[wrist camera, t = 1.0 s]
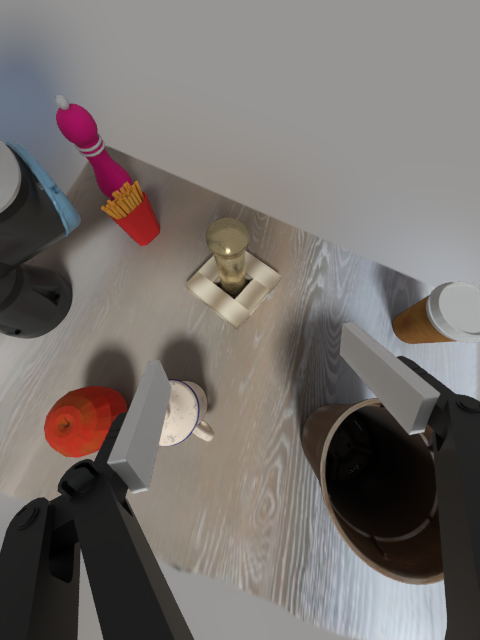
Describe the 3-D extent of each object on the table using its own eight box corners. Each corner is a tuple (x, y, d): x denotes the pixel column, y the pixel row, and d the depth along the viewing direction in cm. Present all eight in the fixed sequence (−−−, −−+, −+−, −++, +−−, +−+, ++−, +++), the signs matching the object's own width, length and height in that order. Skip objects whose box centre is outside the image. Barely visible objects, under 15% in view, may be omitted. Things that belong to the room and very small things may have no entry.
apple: (73, 411, 40) (6, 423, 29) (118, 373, 41) (71, 370, 30) (102, 457, 37) (41, 489, 26) (148, 415, 39) (110, 429, 28)
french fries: (154, 219, 51) (127, 172, 40) (165, 227, 50) (142, 182, 39) (128, 243, 49) (92, 201, 38) (140, 252, 49) (107, 212, 37)
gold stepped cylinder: (213, 287, 46) (197, 238, 30) (232, 268, 47) (225, 210, 31) (235, 304, 45) (229, 261, 29) (253, 283, 46) (257, 232, 30)
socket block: (187, 289, 46) (184, 284, 43) (230, 245, 48) (229, 238, 46) (237, 330, 43) (237, 327, 41) (279, 281, 46) (281, 275, 43)
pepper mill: (134, 183, 54) (73, 75, 35) (144, 203, 52) (86, 100, 33) (107, 194, 54) (30, 90, 34) (117, 215, 52) (41, 117, 32)
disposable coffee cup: (424, 361, 40) (496, 353, 29) (376, 336, 42) (426, 319, 30) (440, 320, 43) (512, 297, 31) (394, 297, 44) (446, 268, 33)
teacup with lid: (150, 411, 39) (111, 424, 28) (180, 370, 41) (156, 366, 30) (201, 453, 37) (182, 485, 26) (231, 407, 39) (225, 418, 28)
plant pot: (334, 372, 40) (389, 367, 25) (404, 445, 37) (520, 493, 21) (270, 433, 38) (288, 470, 22) (339, 519, 34) (417, 634, 19)
